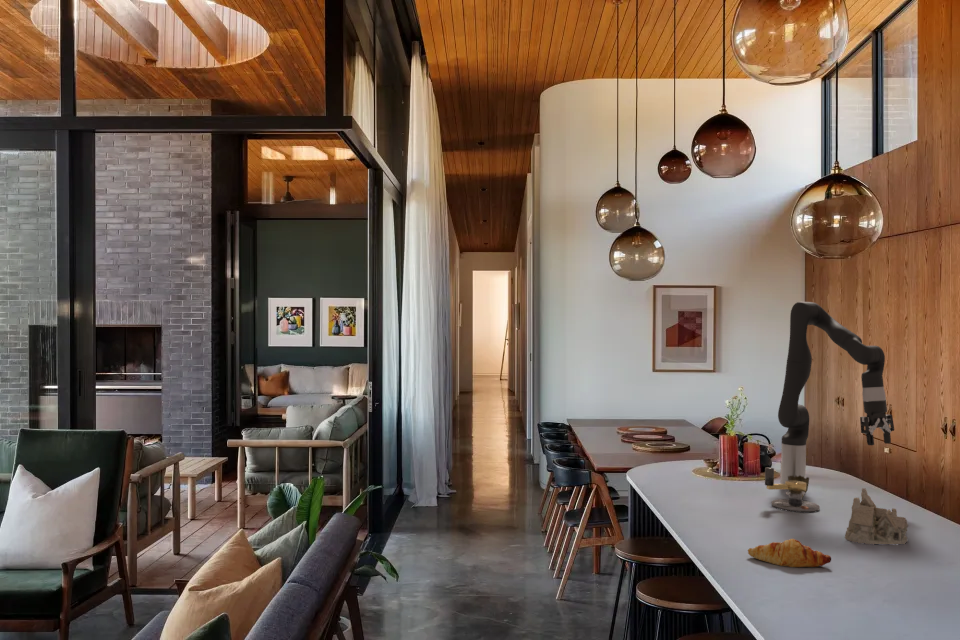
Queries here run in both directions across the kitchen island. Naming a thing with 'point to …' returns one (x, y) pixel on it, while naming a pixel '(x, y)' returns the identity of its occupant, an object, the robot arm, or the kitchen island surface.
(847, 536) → the ceramic cottage
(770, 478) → the gold lever handle
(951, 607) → the kitchen island surface
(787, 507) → the post base
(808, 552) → the croissant
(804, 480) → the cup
